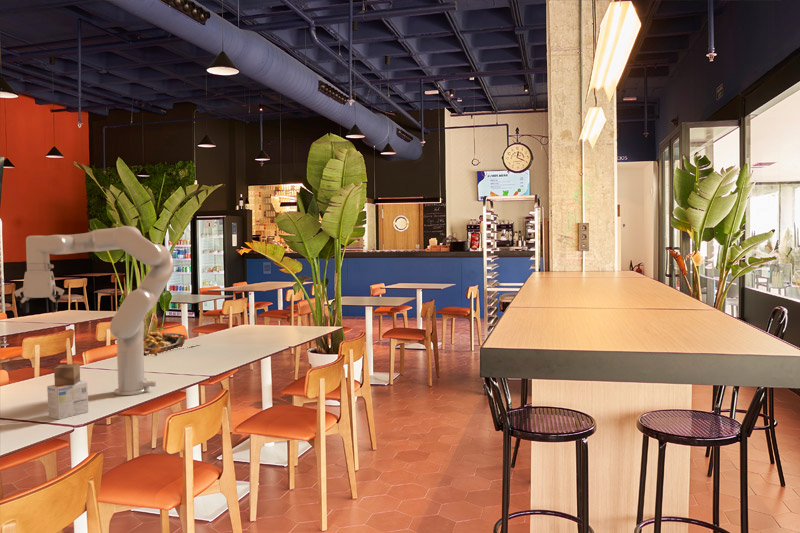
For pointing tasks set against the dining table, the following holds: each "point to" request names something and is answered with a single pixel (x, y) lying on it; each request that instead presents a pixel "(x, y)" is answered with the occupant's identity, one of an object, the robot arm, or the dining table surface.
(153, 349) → the food tray
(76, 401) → the light bulb box
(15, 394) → the dining table surface
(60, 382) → the walnut cube
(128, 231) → the robot arm
